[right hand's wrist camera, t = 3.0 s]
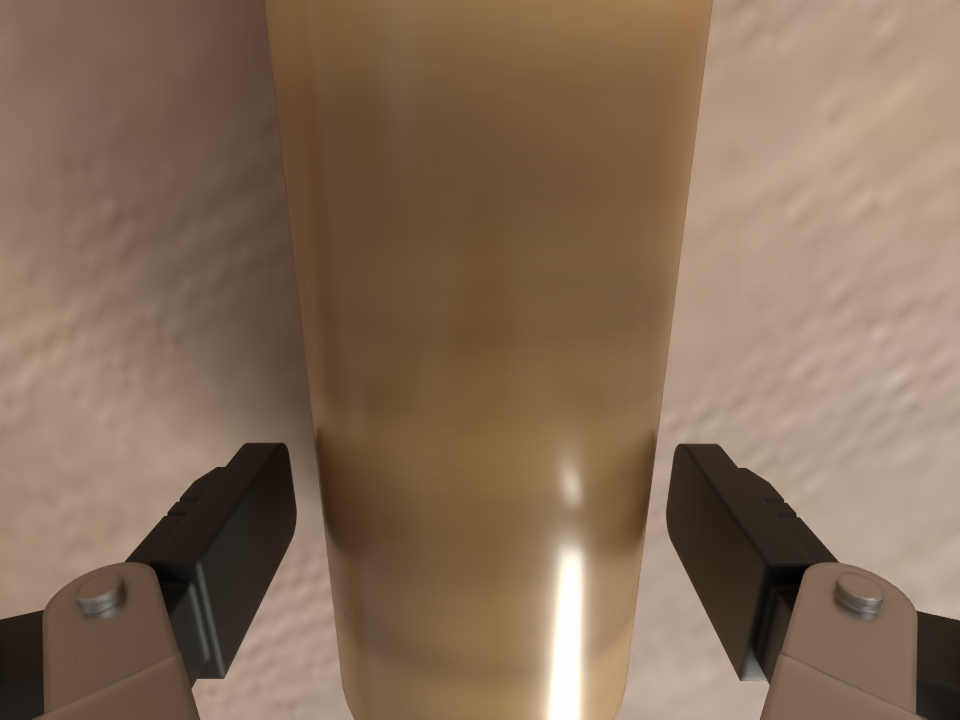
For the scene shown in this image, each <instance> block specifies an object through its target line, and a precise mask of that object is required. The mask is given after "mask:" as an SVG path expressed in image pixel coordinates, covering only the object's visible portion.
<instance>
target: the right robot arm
mask: <svg viewBox="0 0 960 720" xmlns="http://www.w3.org/2000/svg"><path fill="white" fill-rule="evenodd" d="M296 516H297V511H296V501H295V494H294V487H293V479H292V472H291V465H290V458H289V452H288V448H287V446H286V445H285V444H284V443H245V444H244V445H243V446H242V447H241V448H240V450H239V451H238V452H237V453H236V455H235V456H234V457H233V458H232V459H231V461H230V462H229V463H228V464H227V466H226V467H217V468H215V469H213V470H212V471H210V472H209V473H207V474H206V475H204V476H202V477H201V478H199V479H198V480H196V481H194V483H193V484H192V485H191V486H190V487H189V488H188V489H187V491H186V492H185V493H184V494H183V495H182V496H181V498H180V501H179V502H176V503H175V504H174V506H173V507H172V508H171V509H170V510H169V511H168V515H167V516H164V517H163V518H162V519H161V521H160V522H159V523H158V524H157V525H156V526H155V527H154V529H153V530H152V531H151V532H150V533H149V534H148V535H147V537H146V538H145V539H144V540H143V541H142V542H141V544H140V545H139V546H138V547H137V548H136V549H135V550H134V552H133V553H132V554H131V555H130V556H129V557H128V558H127V560H126V561H125V562H124V563H117V564H112V565H108V566H105V567H101V568H98V569H96V570H93V571H91V572H88V573H86V574H84V575H82V576H80V577H78V578H77V579H75V580H73V581H72V582H70V583H69V584H67V585H66V586H65V587H63V588H62V589H61V590H60V591H59V592H57V593H56V594H55V595H54V596H53V598H52V599H51V600H50V601H49V603H48V604H47V606H46V607H45V610H42V611H37V612H33V613H28V614H24V615H19V616H15V617H10V618H6V619H1V620H0V720H200V717H199V714H198V710H197V707H196V704H195V700H194V697H193V693H192V690H191V689H192V687H193V685H194V683H195V682H196V680H197V679H224V678H225V676H226V674H227V672H228V670H229V667H230V665H231V663H232V661H233V659H234V657H235V655H236V653H237V651H238V649H239V647H240V645H241V643H242V641H243V639H244V637H245V635H246V633H247V631H248V628H249V626H250V624H251V622H252V620H253V618H254V616H255V614H256V612H257V610H258V608H259V606H260V604H261V602H262V600H263V598H264V596H265V594H266V591H267V589H268V587H269V585H270V583H271V581H272V579H273V577H274V575H275V573H276V571H277V569H278V567H279V565H280V563H281V561H282V559H283V557H284V555H285V552H286V550H287V548H288V546H289V544H290V542H291V540H292V538H293V535H294V531H295V526H296ZM666 520H667V528H668V533H669V536H670V539H671V542H672V544H673V546H674V548H675V550H676V552H677V554H678V556H679V558H680V560H681V562H682V564H683V566H684V568H685V570H686V572H687V574H688V576H689V578H690V580H691V582H692V584H693V586H694V588H695V590H696V592H697V594H698V596H699V598H700V600H701V602H702V604H703V606H704V608H705V610H706V613H707V615H708V617H709V619H710V621H711V623H712V625H713V627H714V629H715V631H716V633H717V635H718V637H719V639H720V641H721V643H722V645H723V647H724V649H725V651H726V653H727V655H728V657H729V659H730V661H731V663H732V665H733V667H734V669H735V671H736V673H737V675H738V677H739V679H740V681H768V683H769V685H770V687H769V690H768V693H767V697H766V700H765V704H764V707H763V710H762V714H761V717H760V720H960V621H959V620H955V619H950V618H946V617H941V616H937V615H932V614H928V613H923V612H919V611H916V610H915V607H914V606H913V604H912V603H911V601H910V600H909V599H908V598H907V596H906V595H905V594H904V593H903V592H901V591H900V590H899V589H898V588H897V587H895V586H894V585H893V584H891V583H890V582H888V581H887V580H885V579H883V578H882V577H880V576H878V575H876V574H874V573H872V572H869V571H867V570H864V569H862V568H859V567H855V566H852V565H848V564H843V563H839V562H838V560H837V559H836V558H835V557H834V556H833V555H832V554H831V553H830V551H829V550H828V549H827V548H826V547H825V546H824V545H823V543H822V542H821V541H820V540H819V539H818V538H817V537H816V535H815V534H814V533H813V532H812V531H811V530H810V529H809V527H808V526H807V525H806V524H805V523H804V522H803V521H802V519H801V518H800V517H797V516H796V513H795V511H794V510H793V509H792V508H791V507H790V506H789V505H788V504H787V503H784V499H783V498H782V497H781V496H780V494H779V493H778V492H777V491H776V490H775V489H774V488H773V486H772V485H771V484H770V483H769V482H767V481H766V480H764V479H763V478H761V477H759V476H758V475H756V474H755V473H753V472H751V471H750V470H748V469H747V468H738V467H737V466H736V465H735V464H734V462H733V461H732V460H731V459H730V457H729V456H728V455H727V454H726V453H725V451H724V450H723V449H722V448H721V447H720V446H719V445H718V444H679V445H678V446H677V447H676V449H675V453H674V458H673V465H672V472H671V480H670V487H669V494H668V501H667V509H666Z"/></svg>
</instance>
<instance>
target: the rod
mask: <svg viewBox="0 0 960 720" xmlns="http://www.w3.org/2000/svg"><path fill="white" fill-rule="evenodd" d="M264 4H265V13H266V22H267V31H268V39H269V48H270V57H271V66H272V74H273V83H274V92H275V101H276V109H277V118H278V127H279V136H280V144H281V153H282V162H283V171H284V179H285V188H286V197H287V205H288V214H289V223H290V232H291V240H292V249H293V258H294V267H295V275H296V284H297V293H298V302H299V310H300V319H301V328H302V337H303V345H304V354H305V363H306V372H307V380H308V389H309V398H310V407H311V415H312V424H313V433H314V441H315V450H316V459H317V468H318V476H319V485H320V494H321V503H322V511H323V520H324V529H325V538H326V546H327V555H328V564H329V573H330V581H331V590H332V599H333V608H334V616H335V625H336V634H337V643H338V651H339V660H340V669H341V677H342V686H343V691H344V694H345V698H346V701H347V705H348V707H349V709H350V711H351V713H352V715H353V717H354V719H355V720H614V719H615V717H616V715H617V713H618V711H619V709H620V706H621V703H622V700H623V696H624V692H625V689H626V681H627V673H628V665H629V657H630V649H631V641H632V634H633V626H634V618H635V610H636V602H637V594H638V586H639V578H640V571H641V563H642V555H643V547H644V539H645V531H646V523H647V515H648V508H649V500H650V492H651V484H652V476H653V468H654V460H655V452H656V445H657V437H658V429H659V421H660V413H661V405H662V397H663V389H664V382H665V374H666V366H667V358H668V350H669V342H670V334H671V326H672V319H673V311H674V303H675V295H676V287H677V279H678V271H679V263H680V256H681V248H682V240H683V232H684V224H685V216H686V208H687V200H688V193H689V185H690V177H691V169H692V161H693V153H694V145H695V137H696V130H697V122H698V114H699V106H700V98H701V90H702V82H703V74H704V67H705V59H706V51H707V43H708V35H709V27H710V19H711V11H712V4H713V0H264Z"/></svg>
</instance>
